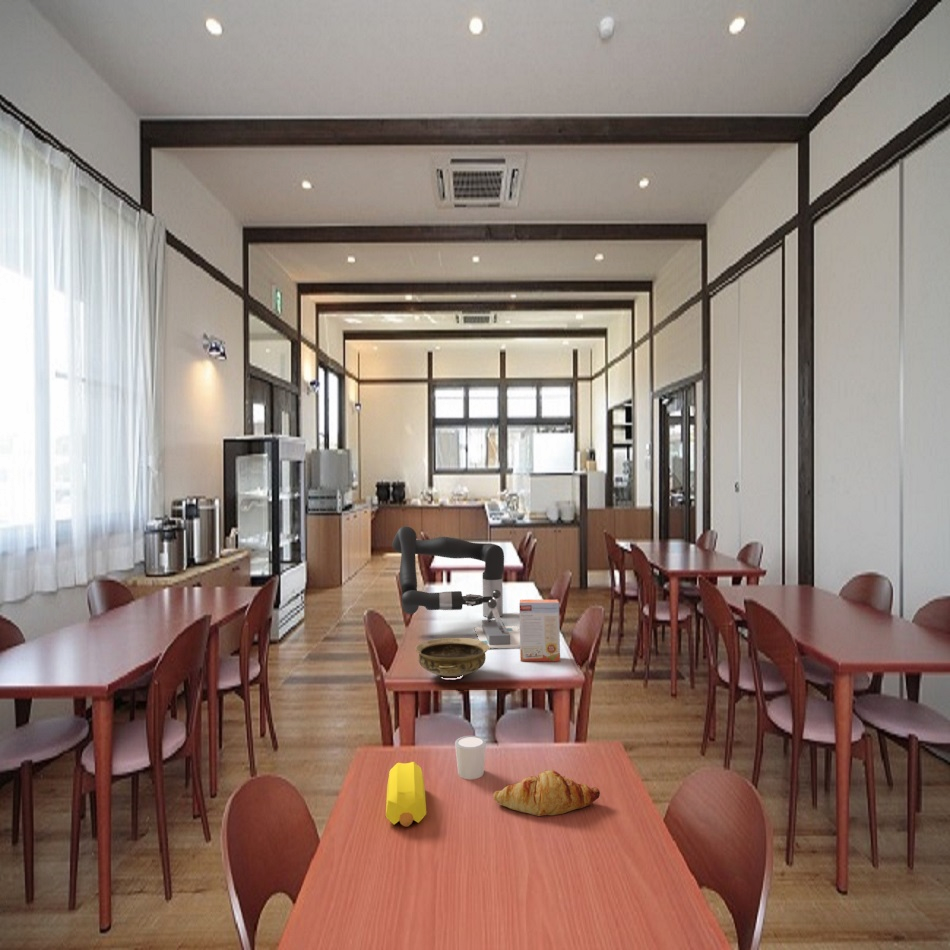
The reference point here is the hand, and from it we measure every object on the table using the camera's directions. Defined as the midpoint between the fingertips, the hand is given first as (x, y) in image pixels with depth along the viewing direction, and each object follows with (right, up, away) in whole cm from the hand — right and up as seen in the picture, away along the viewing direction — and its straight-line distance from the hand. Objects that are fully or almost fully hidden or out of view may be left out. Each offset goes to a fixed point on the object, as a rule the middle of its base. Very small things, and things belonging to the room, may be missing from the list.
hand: (492, 599), depth 260 cm
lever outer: (+3, -8, -18) cm, 20 cm away
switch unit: (+3, -14, -9) cm, 17 cm away
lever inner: (-1, -8, 0) cm, 9 cm away
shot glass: (-8, -15, -121) cm, 122 cm away
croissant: (+7, -15, -135) cm, 136 cm away
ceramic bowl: (-14, -14, -56) cm, 59 cm away
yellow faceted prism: (-21, -15, -135) cm, 137 cm away
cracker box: (+16, -14, -38) cm, 43 cm away
